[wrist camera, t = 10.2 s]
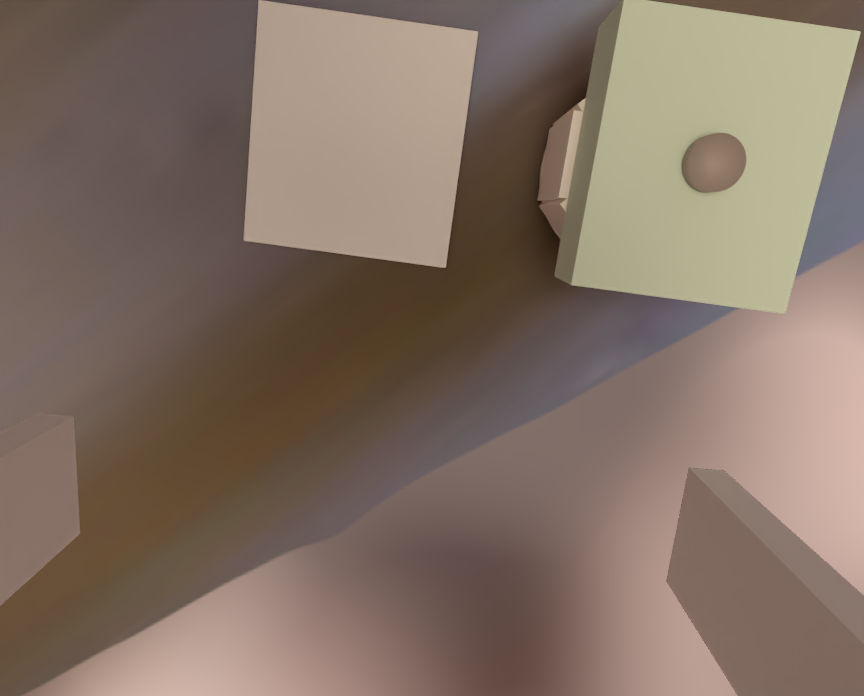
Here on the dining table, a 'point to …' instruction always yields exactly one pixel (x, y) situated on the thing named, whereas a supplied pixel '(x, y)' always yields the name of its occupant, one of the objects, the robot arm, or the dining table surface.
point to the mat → (356, 133)
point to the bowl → (559, 166)
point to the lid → (701, 153)
